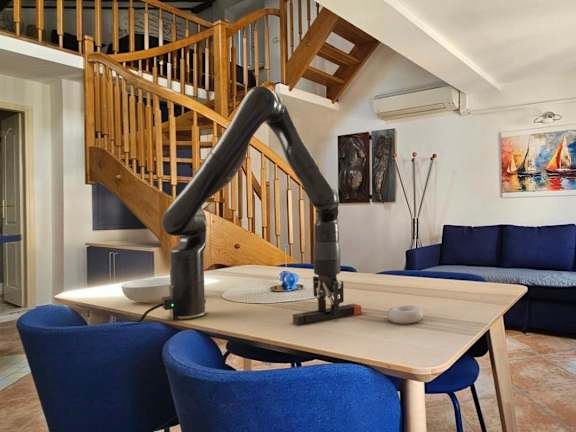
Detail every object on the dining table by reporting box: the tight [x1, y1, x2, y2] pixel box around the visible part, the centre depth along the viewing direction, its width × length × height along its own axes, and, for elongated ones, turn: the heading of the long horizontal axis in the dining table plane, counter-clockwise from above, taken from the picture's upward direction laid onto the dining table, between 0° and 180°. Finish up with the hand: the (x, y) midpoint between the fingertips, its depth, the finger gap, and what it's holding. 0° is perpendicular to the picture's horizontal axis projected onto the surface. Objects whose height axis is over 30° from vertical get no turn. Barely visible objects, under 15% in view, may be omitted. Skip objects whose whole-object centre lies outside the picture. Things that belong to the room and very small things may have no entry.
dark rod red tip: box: [292, 302, 362, 327], centre depth 119 cm, size 20×4×2 cm, turn 126°
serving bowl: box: [121, 276, 170, 304], centre depth 149 cm, size 21×21×7 cm
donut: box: [386, 304, 424, 325], centre depth 115 cm, size 10×4×10 cm
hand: (328, 314), depth 119 cm, fingers open, 7 cm apart
